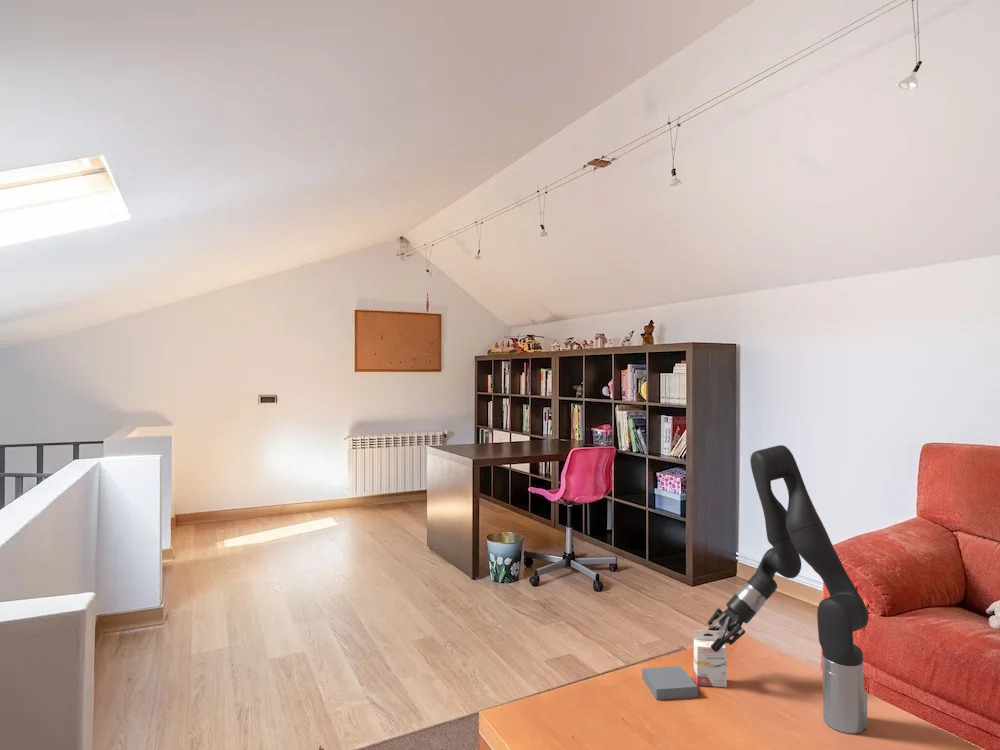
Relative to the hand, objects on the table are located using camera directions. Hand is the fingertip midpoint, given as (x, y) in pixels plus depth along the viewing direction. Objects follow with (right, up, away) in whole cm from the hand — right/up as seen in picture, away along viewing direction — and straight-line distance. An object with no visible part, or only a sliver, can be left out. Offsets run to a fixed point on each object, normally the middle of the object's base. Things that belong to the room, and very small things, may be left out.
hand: (708, 644), depth 178 cm
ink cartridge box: (0, -11, 0) cm, 11 cm away
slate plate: (-12, -11, -2) cm, 17 cm away
